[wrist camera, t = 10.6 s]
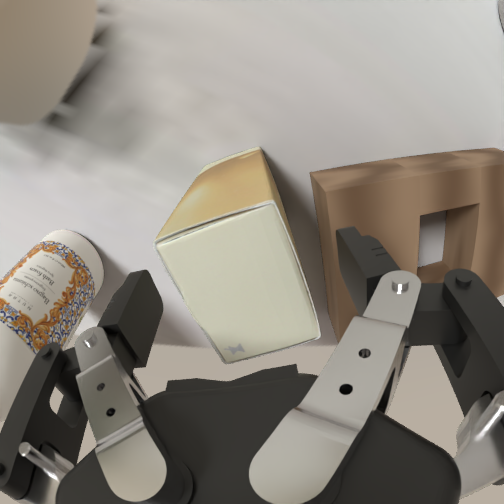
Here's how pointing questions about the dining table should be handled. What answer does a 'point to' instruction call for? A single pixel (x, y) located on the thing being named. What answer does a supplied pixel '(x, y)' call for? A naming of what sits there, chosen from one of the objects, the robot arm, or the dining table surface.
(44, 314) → the bath foam
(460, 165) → the walnut holder block
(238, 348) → the skincare box
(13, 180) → the dining table surface
